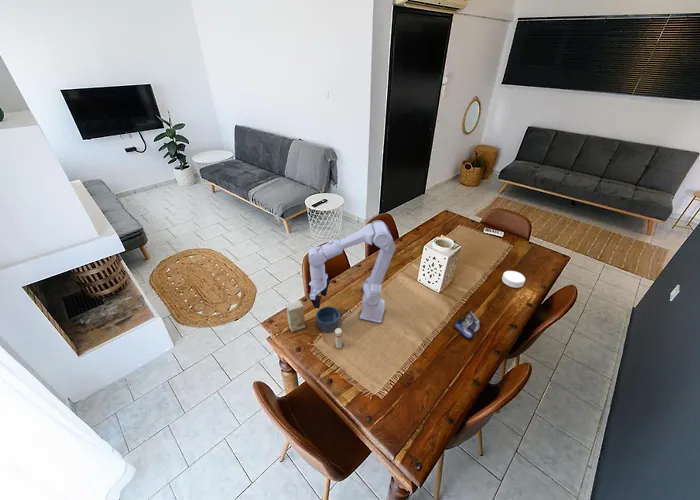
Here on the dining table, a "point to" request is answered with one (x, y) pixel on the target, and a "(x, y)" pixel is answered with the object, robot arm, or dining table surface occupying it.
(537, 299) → the dining table surface
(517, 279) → the white round disc
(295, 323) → the cosmetic box
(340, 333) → the dowel
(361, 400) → the dining table surface
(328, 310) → the holder
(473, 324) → the snack package
